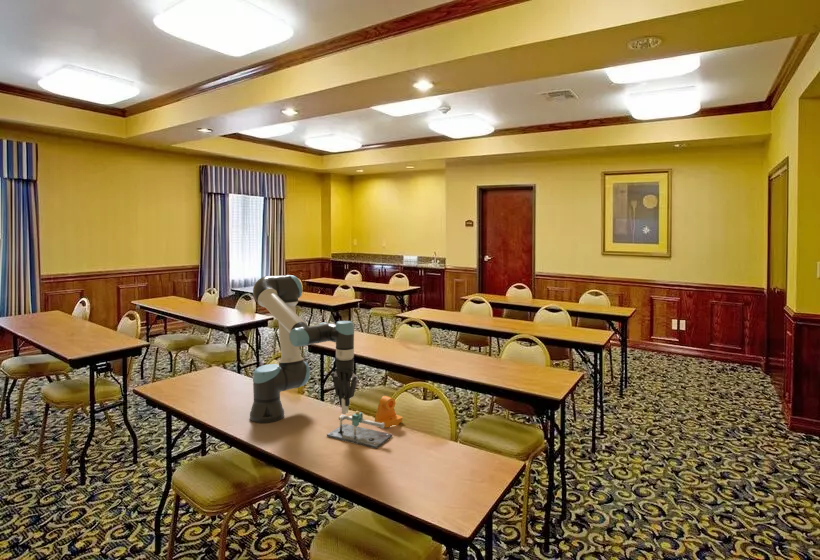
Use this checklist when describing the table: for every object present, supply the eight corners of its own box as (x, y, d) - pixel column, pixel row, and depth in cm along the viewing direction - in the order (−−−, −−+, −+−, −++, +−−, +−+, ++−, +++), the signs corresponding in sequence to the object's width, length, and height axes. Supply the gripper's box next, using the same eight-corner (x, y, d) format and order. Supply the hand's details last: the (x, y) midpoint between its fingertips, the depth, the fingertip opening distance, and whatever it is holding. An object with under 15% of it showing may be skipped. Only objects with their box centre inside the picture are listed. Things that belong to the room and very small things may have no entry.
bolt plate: (326, 436, 198) (326, 433, 198) (344, 425, 210) (344, 423, 210) (376, 448, 188) (376, 445, 188) (392, 436, 199) (392, 433, 199)
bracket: (385, 429, 207) (385, 402, 206) (374, 424, 212) (374, 398, 211) (403, 423, 214) (403, 397, 213) (392, 418, 219) (392, 393, 218)
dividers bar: (337, 432, 201) (337, 416, 200) (342, 429, 204) (342, 413, 203) (380, 442, 191) (380, 425, 191) (384, 439, 194) (384, 422, 194)
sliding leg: (351, 434, 197) (352, 412, 197) (357, 430, 201) (357, 409, 201) (356, 435, 196) (356, 413, 196) (362, 431, 200) (362, 410, 199)
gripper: (326, 358, 199) (326, 413, 201) (352, 362, 193) (352, 418, 195) (337, 354, 205) (337, 407, 208) (362, 358, 200) (362, 412, 202)
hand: (344, 412), depth 201 cm, fingers closed
